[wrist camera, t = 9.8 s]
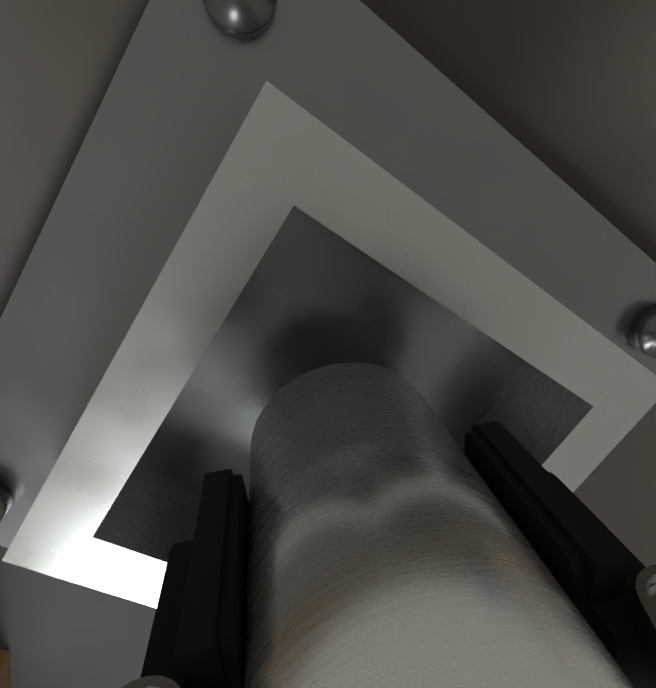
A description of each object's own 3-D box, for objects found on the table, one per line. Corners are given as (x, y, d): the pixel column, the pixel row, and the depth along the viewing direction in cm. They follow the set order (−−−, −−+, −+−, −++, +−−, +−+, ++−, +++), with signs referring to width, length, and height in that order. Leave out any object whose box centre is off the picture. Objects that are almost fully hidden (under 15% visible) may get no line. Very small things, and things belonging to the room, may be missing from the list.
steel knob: (446, 330, 11) (1285, 1043, 2) (448, 511, 13) (863, 1254, 4) (213, 367, 11) (-51, 1554, 2) (254, 550, 13) (247, 1499, 4)
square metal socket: (685, 305, 16) (819, 347, 12) (385, 645, 20) (414, 756, 16) (215, -104, 10) (190, -268, 6) (-69, 493, 14) (-187, 609, 10)
